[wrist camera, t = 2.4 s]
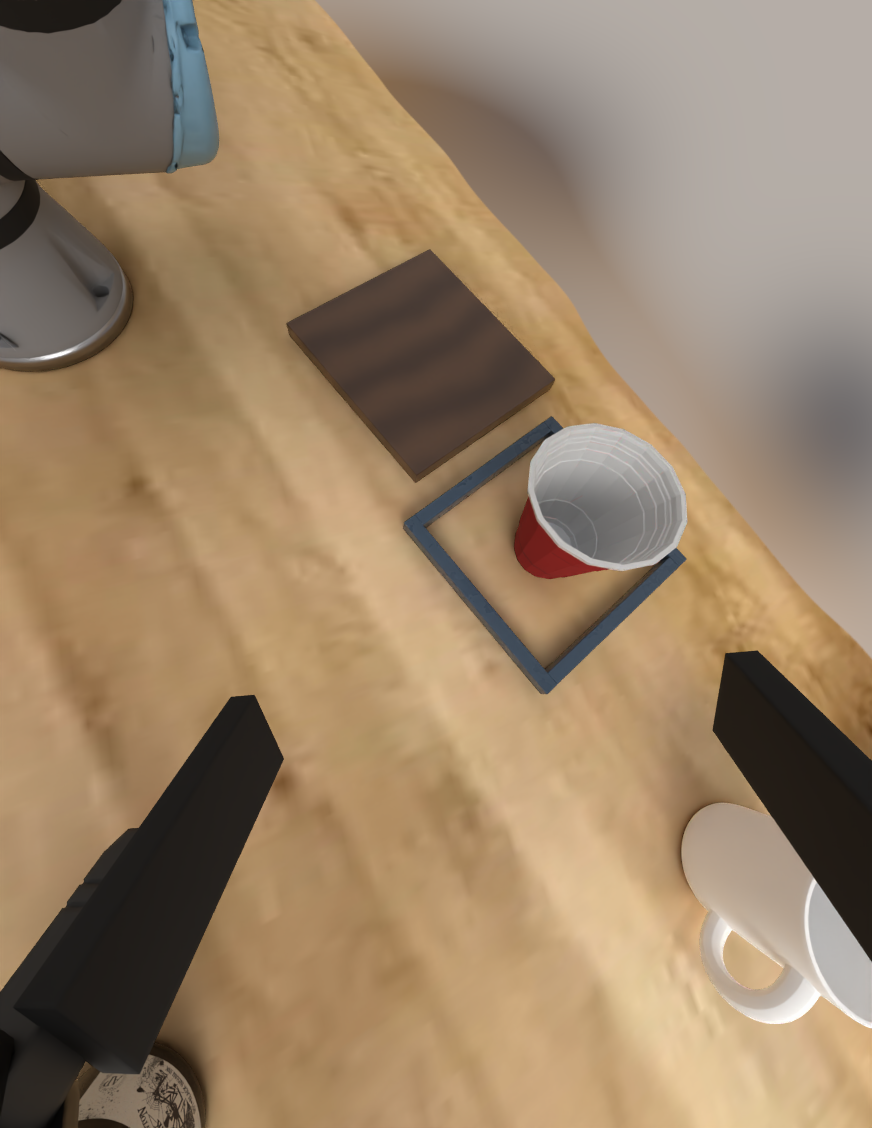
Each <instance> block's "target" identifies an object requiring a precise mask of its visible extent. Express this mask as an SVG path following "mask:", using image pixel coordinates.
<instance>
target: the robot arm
mask: <svg viewBox="0 0 872 1128" xmlns="http://www.w3.org/2000/svg"><path fill="white" fill-rule="evenodd" d="M198 34H199V31H198V26H197V22H196V18H195V13H194V7H193V2H192V0H0V367H1V368H5V369H10V370H17V371H45V370H53V369H58V368H62V367H66V366H70V365H73V364H76V363H78V362H81V361H83V360H85V359H88V358H89V357H91V356H93V355H95V354H97V353H98V352H100V351H101V350H103V349H104V348H105V347H107V346H108V345H109V344H110V343H111V342H112V341H114V339H115V338H116V337H117V336H118V335H119V334H120V333H121V331H122V330H123V328H124V327H125V325H126V323H127V321H128V319H129V317H130V314H131V311H132V305H133V294H132V288H131V285H130V282H129V280H128V278H127V276H126V274H125V273H124V271H123V270H122V268H121V267H120V265H119V263H118V262H117V260H116V259H115V258H114V256H113V255H112V254H111V253H110V251H109V250H108V249H107V248H106V247H105V246H104V245H103V244H102V243H101V242H100V241H99V240H98V239H97V238H96V237H95V236H94V235H93V234H91V233H90V232H89V231H88V230H87V229H86V228H85V227H84V226H83V225H82V224H80V223H79V222H78V221H77V220H76V219H75V218H74V217H73V216H72V215H71V214H69V213H68V212H67V211H66V210H65V209H64V208H63V207H62V206H61V205H60V204H58V203H57V202H56V201H55V200H54V199H53V198H52V197H51V196H50V195H48V194H47V193H46V192H45V191H44V190H43V189H42V188H41V187H40V186H39V185H38V183H37V182H36V180H38V179H52V178H70V177H87V176H105V175H123V174H140V173H158V172H166V173H173V172H175V171H176V170H177V169H180V168H186V167H192V166H198V165H204V164H207V163H209V162H211V161H212V160H213V159H214V158H215V156H216V154H217V151H218V148H219V130H218V123H217V116H216V111H215V105H214V99H213V94H212V89H211V84H210V79H209V74H208V70H207V65H206V61H205V56H204V52H203V48H202V45H201V42H200V39H199V37H198ZM35 179H36V180H35ZM713 732H714V733H715V735H716V736H717V737H718V739H719V740H720V742H721V743H722V745H723V746H724V748H725V749H726V751H727V752H728V753H729V755H730V756H731V758H732V759H733V761H734V762H735V764H736V765H737V767H738V768H739V769H740V771H741V772H742V774H743V775H744V777H745V778H746V780H747V781H748V783H749V784H750V785H751V787H752V788H753V790H754V791H755V793H756V794H757V796H758V797H759V799H760V800H761V802H762V803H763V804H764V806H765V807H766V809H767V810H768V812H769V813H770V815H771V816H772V818H773V819H774V820H775V822H776V823H777V825H778V826H779V828H780V829H781V831H782V832H783V834H784V835H785V836H786V838H787V839H788V841H789V842H790V844H791V845H792V847H793V848H794V850H795V851H796V852H797V854H798V855H799V857H800V858H801V860H802V861H803V863H804V864H805V866H806V867H807V869H808V870H809V871H810V873H811V874H812V876H813V877H814V879H815V880H816V882H817V883H818V885H819V886H820V887H821V889H822V890H823V892H824V893H825V895H826V896H827V898H828V899H829V901H830V902H831V903H832V905H833V906H834V908H835V909H836V911H837V912H838V914H839V915H840V917H841V918H842V919H843V921H844V922H845V924H846V925H847V927H848V928H849V930H850V931H851V933H852V934H853V936H854V937H855V938H856V940H857V941H858V943H859V944H860V946H861V947H862V949H863V950H864V952H865V953H866V954H867V956H868V957H869V959H870V960H871V962H872V761H871V760H870V759H869V758H868V757H867V756H866V755H865V754H864V753H863V752H862V751H861V750H860V749H859V748H858V747H857V746H856V745H855V744H854V743H853V742H852V741H851V740H850V739H849V738H848V737H847V736H846V735H844V734H843V733H842V732H841V731H840V730H839V729H838V728H837V727H836V726H835V725H834V724H833V723H832V722H831V721H830V720H829V719H828V718H827V717H826V716H825V715H824V714H823V713H822V712H821V711H820V710H819V709H817V708H816V707H815V706H814V705H813V704H812V703H811V702H810V701H809V700H808V699H807V698H806V697H805V696H804V695H803V694H802V693H801V692H800V691H799V690H798V689H797V688H796V687H795V686H794V685H793V684H792V683H791V682H789V681H788V680H787V679H786V678H785V677H784V676H783V675H782V674H781V673H780V672H779V671H778V670H777V669H776V668H775V667H774V666H773V665H772V664H771V663H770V662H769V661H768V660H767V659H766V658H765V657H764V656H763V655H761V654H760V653H759V652H758V651H747V652H736V653H725V659H724V665H723V671H722V677H721V683H720V689H719V695H718V701H717V707H716V713H715V719H714V725H713ZM283 760H284V758H283V756H282V753H281V751H280V749H279V747H278V745H277V743H276V740H275V738H274V736H273V734H272V732H271V729H270V727H269V725H268V723H267V721H266V719H265V716H264V714H263V712H262V710H261V708H260V706H259V703H258V701H257V699H256V697H255V695H247V696H236V697H231V698H230V699H229V700H228V702H227V703H226V705H225V706H224V707H223V709H222V710H221V712H220V713H219V715H218V716H217V717H216V719H215V720H214V722H213V723H212V725H211V726H210V727H209V729H208V730H207V732H206V733H205V734H204V736H203V737H202V739H201V740H200V742H199V743H198V744H197V746H196V747H195V749H194V750H193V752H192V753H191V754H190V756H189V757H188V759H187V760H186V762H185V763H184V764H183V766H182V767H181V769H180V770H179V771H178V773H177V774H176V776H175V777H174V779H173V780H172V781H171V783H170V784H169V786H168V787H167V789H166V790H165V791H164V793H163V794H162V796H161V797H160V799H159V800H158V801H157V803H156V804H155V806H154V807H153V808H152V810H151V811H150V813H149V814H148V816H147V817H146V818H145V820H144V821H143V823H142V824H141V826H140V827H139V828H130V829H128V830H127V831H126V832H125V833H124V834H122V835H121V836H120V837H119V838H118V839H117V840H116V841H115V842H114V843H113V844H112V845H111V846H110V847H109V848H108V849H107V850H106V851H104V853H103V854H102V855H101V857H100V858H99V859H98V861H97V862H96V863H95V865H94V866H93V867H92V869H91V870H90V872H89V873H88V874H87V876H86V877H85V878H84V882H83V884H82V885H79V886H78V888H77V889H76V890H75V892H74V893H73V895H72V896H71V897H70V899H69V900H68V901H67V906H66V907H65V908H62V909H61V911H60V912H59V913H58V915H57V916H56V917H55V919H54V920H53V922H52V923H51V924H50V926H49V927H48V928H47V930H46V931H45V932H44V934H43V935H42V936H41V938H40V939H39V940H38V942H37V943H36V945H35V946H34V947H33V949H32V950H31V951H30V953H29V954H28V955H27V957H26V958H25V959H24V961H23V962H22V963H21V965H20V966H19V967H18V969H17V970H16V972H15V973H14V974H13V976H12V977H11V978H10V980H9V981H8V982H7V984H6V985H5V986H4V988H3V989H2V990H1V992H0V1128H78V1118H79V1102H80V1093H79V1087H78V1082H77V1081H76V1080H75V1079H76V1078H77V1076H78V1074H79V1072H80V1070H81V1068H82V1067H83V1065H84V1063H85V1061H86V1062H88V1063H89V1064H91V1065H92V1066H93V1067H95V1068H96V1069H97V1070H99V1071H100V1072H102V1073H112V1074H139V1075H140V1073H141V1071H142V1068H143V1066H144V1064H145V1062H146V1060H147V1058H148V1055H149V1053H150V1051H151V1049H152V1047H153V1044H154V1042H155V1040H156V1038H157V1036H158V1033H159V1031H160V1029H161V1027H162V1025H163V1023H164V1020H165V1018H166V1016H167V1014H168V1012H169V1009H170V1007H171V1005H172V1003H173V1001H174V998H175V996H176V994H177V992H178V990H179V987H180V985H181V983H182V981H183V979H184V977H185V974H186V972H187V970H188V968H189V966H190V963H191V961H192V959H193V957H194V955H195V952H196V950H197V948H198V946H199V944H200V942H201V939H202V937H203V935H204V933H205V931H206V928H207V926H208V924H209V922H210V920H211V917H212V915H213V913H214V911H215V909H216V906H217V904H218V902H219V900H220V898H221V896H222V893H223V891H224V889H225V887H226V885H227V882H228V880H229V878H230V876H231V874H232V871H233V869H234V867H235V865H236V863H237V861H238V858H239V856H240V854H241V852H242V850H243V847H244V845H245V843H246V841H247V839H248V836H249V834H250V832H251V830H252V828H253V825H254V823H255V821H256V819H257V817H258V815H259V812H260V810H261V808H262V806H263V804H264V801H265V799H266V797H267V795H268V793H269V790H270V788H271V786H272V784H273V782H274V779H275V777H276V775H277V773H278V771H279V769H280V766H281V764H282V762H283Z"/></svg>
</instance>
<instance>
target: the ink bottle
mask: <svg viewBox="0 0 872 1128" xmlns="http://www.w3.org/2000/svg"><path fill="white" fill-rule="evenodd" d="M77 1082H78V1087H79V1093H80V1102H79V1118H78V1128H205V1122H206V1116H205V1104H204V1098H203V1094H202V1090H201V1087H200V1084H199V1082H198V1079H197V1077H196V1075H195V1073H194V1072H193V1070H192V1068H191V1067H190V1066H189V1064H188V1063H187V1062H186V1061H185V1060H184V1058H183V1057H182V1056H180V1055H179V1054H178V1053H177V1052H175V1051H174V1050H172V1049H171V1048H169V1047H167V1046H164V1045H161V1044H157V1043H154V1044H153V1047H152V1049H151V1051H150V1053H149V1055H148V1058H147V1060H146V1062H145V1064H144V1066H143V1068H142V1071H141V1073H140V1075H139V1074H112V1073H102V1072H100V1071H99V1070H97V1069H96V1068H95V1067H93V1066H92V1067H91V1068H90V1069H89V1070H87V1071H86V1072H85V1073H84V1074H83V1075H82V1076H81V1077H80V1078H79V1079H78V1080H77Z"/></svg>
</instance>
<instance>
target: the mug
mask: <svg viewBox="0 0 872 1128" xmlns="http://www.w3.org/2000/svg"><path fill="white" fill-rule="evenodd" d="M681 856H682V865H683V870H684V873H685V876H686V879H687V882H688V884H689V886H690V888H691V890H692V892H693V893H694V895H695V896H696V898H697V899H698V901H699V902H700V903H701V904H702V906H703V907H704V908H705V909H706V910H707V911H708V913H707V915H706V917H705V919H704V921H703V924H702V928H701V932H700V939H699V945H700V954H701V959H702V963H703V966H704V969H705V971H706V973H707V975H708V977H709V979H710V981H711V983H712V984H713V985H714V987H715V988H716V990H717V991H718V993H719V994H720V995H721V996H722V997H723V998H724V1000H725V1001H726V1002H728V1003H729V1004H730V1005H731V1006H732V1007H733V1008H735V1009H736V1010H738V1011H739V1012H741V1013H742V1014H744V1015H745V1016H747V1017H749V1018H751V1019H754V1020H756V1021H759V1022H763V1023H768V1024H783V1023H787V1022H791V1021H794V1020H796V1019H798V1018H800V1017H801V1016H802V1015H804V1014H805V1013H806V1012H807V1011H808V1010H809V1009H810V1008H811V1007H812V1006H813V1005H814V1004H815V1002H816V1001H817V999H818V998H819V996H822V997H824V998H825V999H827V1000H828V1001H829V1002H830V1003H832V1004H833V1005H834V1006H836V1007H837V1008H839V1009H840V1010H841V1011H843V1012H844V1013H845V1014H847V1015H848V1016H849V1017H851V1018H852V1019H853V1020H855V1021H857V1022H858V1023H860V1024H862V1025H864V1026H866V1027H869V1028H871V1029H872V962H871V960H870V959H869V957H868V956H867V954H866V953H865V952H864V950H863V949H862V947H861V946H860V944H859V943H858V941H857V940H856V938H855V937H854V936H853V934H852V933H851V931H850V930H849V928H848V927H847V925H846V924H845V922H844V921H843V919H842V918H841V917H840V915H839V914H838V912H837V911H836V909H835V908H834V906H833V905H832V903H831V902H830V901H829V899H828V898H827V896H826V895H825V893H824V892H823V890H822V889H821V887H820V886H819V885H818V883H817V882H816V880H815V879H814V877H813V876H812V874H811V873H810V871H809V870H808V869H807V867H806V866H805V864H804V863H803V861H802V860H801V858H800V857H799V855H798V854H797V852H796V851H795V850H794V848H793V847H792V845H791V844H790V842H789V841H788V839H787V838H786V836H785V835H784V834H783V832H782V831H781V829H780V828H779V826H778V825H777V823H776V822H775V820H774V819H773V818H772V817H771V816H769V815H766V814H763V813H761V812H758V811H755V810H752V809H750V808H747V807H744V806H740V805H736V804H732V803H715V804H711V805H708V806H706V807H704V808H702V809H701V810H699V811H698V812H697V813H696V814H695V815H694V816H693V817H692V818H691V820H690V821H689V823H688V825H687V827H686V829H685V832H684V835H683V840H682V848H681ZM732 930H733V931H734V932H736V933H737V934H738V935H740V936H741V937H742V938H743V939H745V940H746V941H748V942H749V943H750V944H752V945H753V946H754V947H756V948H757V949H758V950H760V951H761V952H762V953H764V954H765V955H766V956H768V957H769V958H771V959H772V960H773V961H775V962H776V963H777V964H779V965H780V966H781V967H783V971H782V972H781V974H780V976H779V977H778V978H777V980H776V981H775V982H774V983H773V984H772V985H770V986H768V987H767V988H764V989H758V990H755V989H750V988H747V987H745V986H743V985H741V984H739V983H738V982H737V981H736V980H735V979H734V978H733V977H732V976H731V975H730V974H729V972H728V971H727V969H726V967H725V964H724V961H723V947H724V943H725V941H726V939H727V937H728V935H729V933H730V932H731V931H732Z"/></svg>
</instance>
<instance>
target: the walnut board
mask: <svg viewBox="0 0 872 1128" xmlns="http://www.w3.org/2000/svg"><path fill="white" fill-rule="evenodd" d="M286 324H287V328H288V331H289V335H290V336H291V338H292V339H293V340H294V341H295V342H296V343H297V345H298V346H299V347H300V348H301V349H302V350H303V352H304V353H305V354H306V355H307V356H308V357H309V359H310V360H311V361H312V362H313V363H314V364H315V366H316V367H317V368H318V369H319V370H320V371H321V373H322V374H323V375H324V376H325V377H326V378H327V380H328V381H329V382H330V383H331V384H332V385H333V387H334V388H335V389H336V390H337V391H338V393H339V394H340V395H341V396H342V397H343V398H344V400H345V401H346V402H347V403H348V404H349V405H350V407H351V408H352V409H353V410H354V411H355V412H356V414H357V415H358V416H359V417H360V418H361V419H362V421H363V422H364V423H365V424H366V425H367V426H368V428H369V429H370V430H371V431H372V432H373V433H374V435H375V436H376V437H377V438H378V439H379V440H380V442H381V443H382V444H383V445H384V446H385V448H386V449H387V450H388V451H389V452H390V453H391V455H392V456H393V457H394V458H395V459H396V460H397V462H398V463H399V464H400V465H401V466H402V467H403V469H404V470H405V471H406V472H407V473H408V474H409V476H410V477H411V478H412V479H413V480H414V481H415V482H417V481H419V480H420V479H422V478H423V477H425V476H426V475H427V474H429V473H430V472H432V471H433V470H435V469H436V468H437V467H439V466H440V465H442V464H443V463H445V462H446V461H448V460H449V459H450V458H452V457H453V456H455V455H456V454H458V453H459V452H460V451H462V450H463V449H465V448H466V447H468V446H469V445H471V444H472V443H473V442H475V441H476V440H478V439H479V438H481V437H482V436H483V435H485V434H486V433H488V432H489V431H491V430H492V429H493V428H495V427H496V426H498V425H499V424H501V423H502V422H504V421H505V420H506V419H508V418H509V417H511V416H512V415H514V414H515V413H516V412H518V411H519V410H521V409H522V408H524V407H525V406H527V405H528V404H529V403H531V402H532V401H534V400H535V399H537V398H538V397H539V396H541V395H542V394H544V393H545V392H547V391H548V390H550V388H551V386H552V385H553V383H554V381H555V378H554V377H553V376H552V375H551V374H550V373H549V372H548V371H547V370H546V369H545V368H544V367H543V366H542V365H541V364H540V363H539V362H538V361H537V360H536V359H535V358H534V357H533V356H532V355H531V354H530V352H529V351H528V350H527V349H526V348H525V347H524V346H523V345H522V344H521V343H520V342H519V341H518V340H517V339H516V338H515V337H514V336H513V335H512V334H511V333H510V332H509V331H508V330H507V329H506V328H505V327H504V326H503V324H502V323H501V322H500V321H499V320H498V319H497V318H496V317H495V316H494V315H493V314H492V313H491V312H490V311H489V310H488V309H487V308H486V307H485V306H484V305H483V304H482V303H481V302H480V301H479V300H478V299H477V297H476V296H475V295H474V294H473V293H472V292H471V291H470V290H469V289H468V288H467V287H466V286H465V285H464V284H463V283H462V282H461V281H460V280H459V279H458V278H457V277H456V276H455V275H454V274H453V273H452V272H451V270H450V269H449V268H448V267H447V266H446V265H445V264H444V263H443V262H442V261H441V260H440V259H439V258H438V257H437V256H436V255H435V254H434V253H433V252H432V251H431V250H430V249H429V250H427V251H425V252H423V253H421V254H420V255H418V256H416V257H414V258H412V259H410V260H408V261H406V262H404V263H402V264H400V265H398V266H396V267H394V268H392V269H390V270H388V271H387V272H385V273H383V274H381V275H379V276H377V277H375V278H373V279H371V280H369V281H367V282H365V283H363V284H361V285H359V286H357V287H355V288H354V289H352V290H350V291H348V292H346V293H344V294H342V295H340V296H338V297H336V298H334V299H332V300H330V301H328V302H326V303H324V304H323V305H321V306H319V307H317V308H315V309H313V310H311V311H309V312H307V313H305V314H303V315H301V316H299V317H297V318H295V319H293V320H291V321H290V322H288V323H286Z"/></svg>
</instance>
